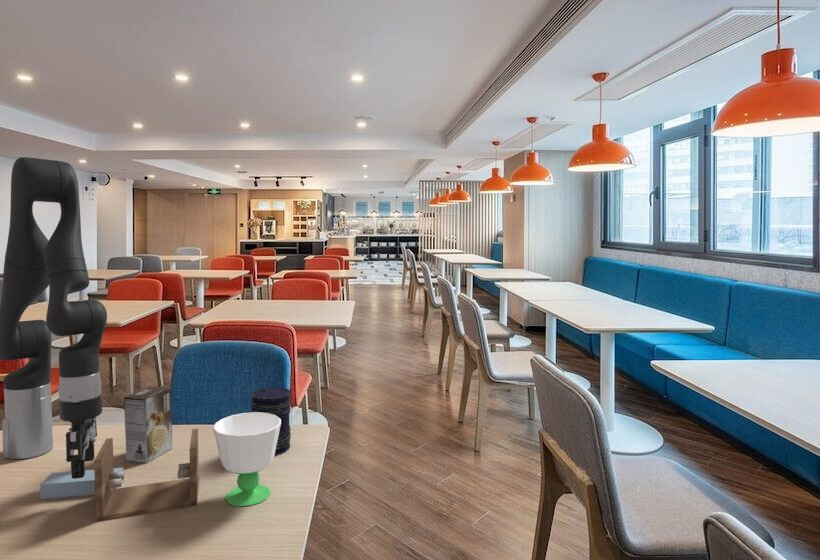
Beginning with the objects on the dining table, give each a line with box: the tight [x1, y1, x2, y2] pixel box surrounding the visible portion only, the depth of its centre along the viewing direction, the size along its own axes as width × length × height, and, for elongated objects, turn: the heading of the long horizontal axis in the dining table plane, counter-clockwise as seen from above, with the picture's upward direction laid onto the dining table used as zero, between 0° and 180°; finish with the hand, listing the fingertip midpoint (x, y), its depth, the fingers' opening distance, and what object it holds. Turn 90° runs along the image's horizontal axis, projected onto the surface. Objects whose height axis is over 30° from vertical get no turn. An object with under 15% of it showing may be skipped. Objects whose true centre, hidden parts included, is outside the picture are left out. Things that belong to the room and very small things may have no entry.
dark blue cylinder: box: [250, 386, 292, 457], centre depth 129 cm, size 10×10×15 cm
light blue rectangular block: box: [39, 467, 125, 500], centre depth 106 cm, size 14×5×4 cm, turn 103°
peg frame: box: [93, 428, 200, 522], centre depth 103 cm, size 18×11×12 cm, turn 111°
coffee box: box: [123, 386, 173, 464], centre depth 124 cm, size 9×6×16 cm
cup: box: [212, 412, 281, 508], centre depth 105 cm, size 14×14×16 cm
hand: (83, 468), depth 106 cm, fingers open, 8 cm apart
